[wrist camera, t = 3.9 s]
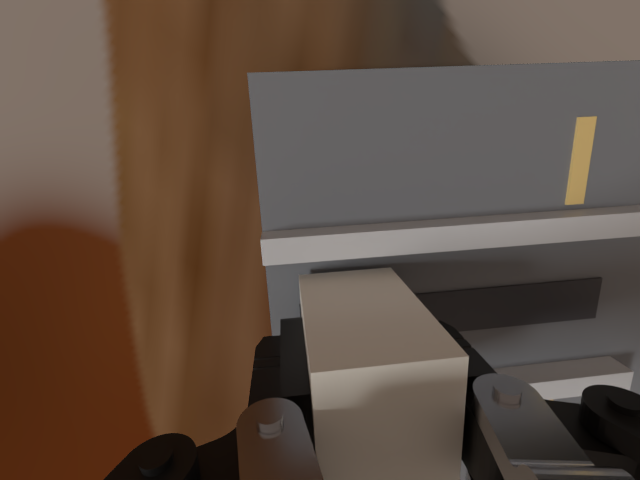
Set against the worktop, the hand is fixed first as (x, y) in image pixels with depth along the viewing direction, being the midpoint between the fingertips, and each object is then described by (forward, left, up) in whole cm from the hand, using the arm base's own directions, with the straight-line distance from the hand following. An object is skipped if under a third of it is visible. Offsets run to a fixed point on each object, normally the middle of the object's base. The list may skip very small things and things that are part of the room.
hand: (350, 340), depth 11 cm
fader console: (-5, +1, -4) cm, 7 cm away
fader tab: (0, 0, -1) cm, 1 cm away
